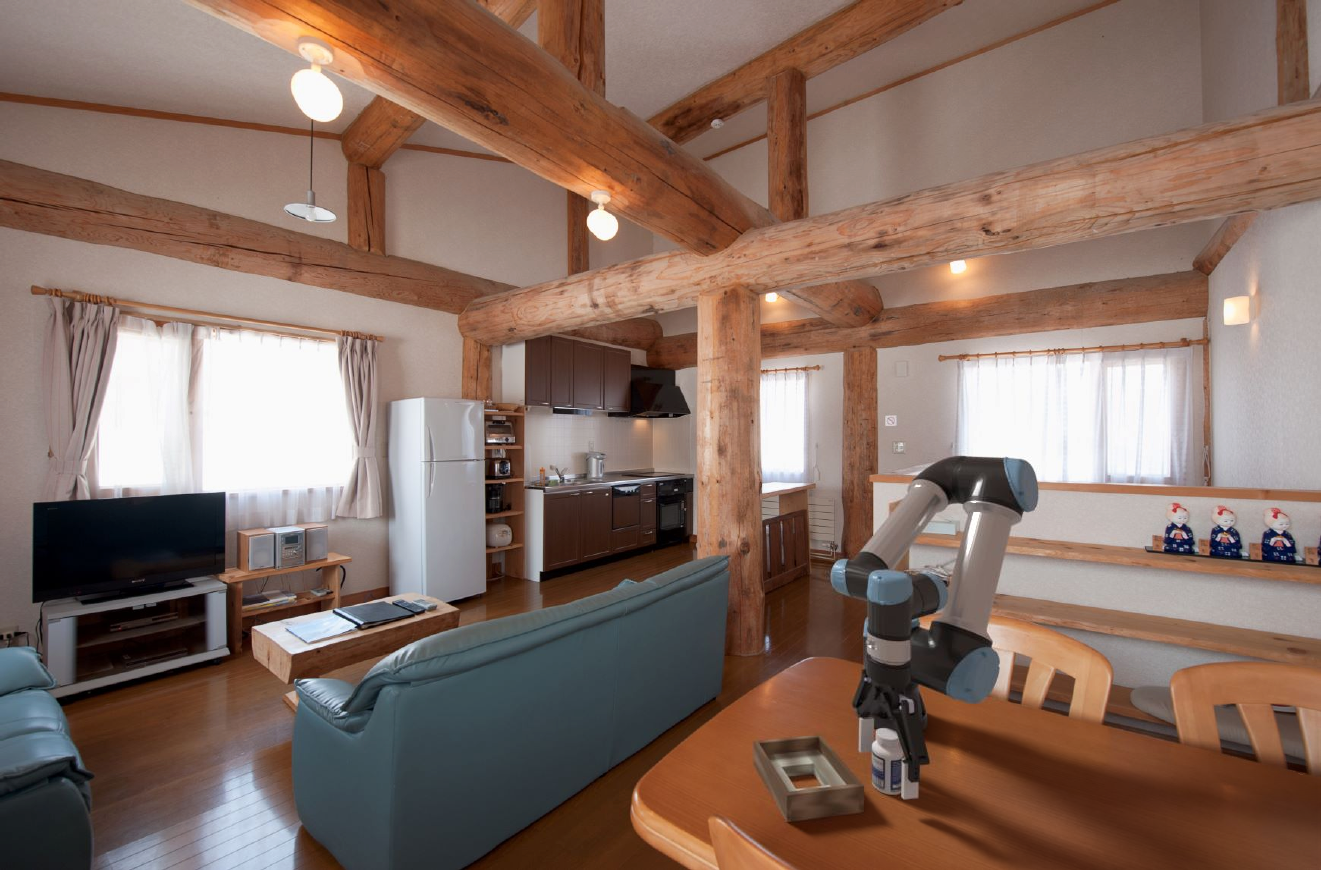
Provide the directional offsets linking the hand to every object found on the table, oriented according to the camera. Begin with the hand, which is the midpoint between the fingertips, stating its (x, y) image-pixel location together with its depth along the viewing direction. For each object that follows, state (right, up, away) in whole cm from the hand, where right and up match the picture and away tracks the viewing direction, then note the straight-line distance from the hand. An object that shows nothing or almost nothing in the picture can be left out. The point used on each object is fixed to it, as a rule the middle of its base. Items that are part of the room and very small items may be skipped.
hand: (886, 773), depth 100 cm
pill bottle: (0, -3, 0) cm, 3 cm away
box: (-15, -2, 0) cm, 15 cm away
